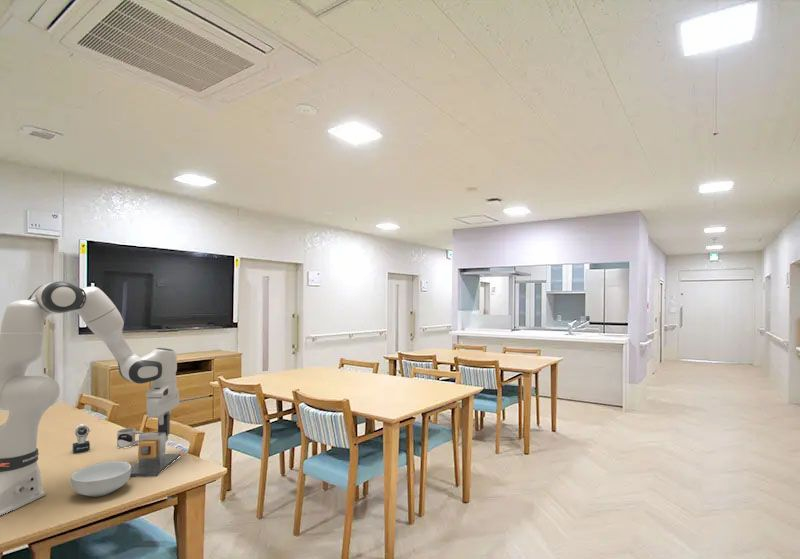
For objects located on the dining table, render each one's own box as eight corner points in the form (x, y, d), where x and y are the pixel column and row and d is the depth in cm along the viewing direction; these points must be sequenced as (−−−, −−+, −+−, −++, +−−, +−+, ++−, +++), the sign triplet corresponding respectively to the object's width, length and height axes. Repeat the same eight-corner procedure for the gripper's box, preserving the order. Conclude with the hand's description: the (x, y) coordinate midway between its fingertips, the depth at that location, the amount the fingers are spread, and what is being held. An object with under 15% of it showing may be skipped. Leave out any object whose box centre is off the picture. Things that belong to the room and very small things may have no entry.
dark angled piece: (149, 454, 167) (149, 425, 167) (139, 454, 167) (139, 425, 167) (169, 440, 183) (169, 414, 183) (160, 440, 183) (160, 414, 183)
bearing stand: (156, 476, 164) (156, 441, 164) (122, 477, 163) (122, 441, 164) (180, 456, 184) (181, 425, 184) (150, 457, 183) (151, 425, 184)
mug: (115, 449, 193) (115, 433, 193) (119, 444, 199) (119, 429, 200) (141, 446, 196) (141, 431, 196) (145, 442, 202) (145, 427, 203)
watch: (74, 454, 186) (74, 427, 187) (72, 449, 192) (72, 423, 193) (90, 451, 190) (91, 425, 190) (88, 446, 196) (88, 421, 196)
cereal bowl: (56, 501, 144) (57, 478, 145) (98, 480, 161) (98, 460, 161) (105, 504, 142) (105, 481, 142) (142, 482, 159) (142, 462, 159)
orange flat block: (153, 458, 168) (154, 442, 169) (138, 458, 168) (138, 442, 168) (156, 456, 170) (156, 441, 171) (141, 456, 170) (141, 441, 170)
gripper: (168, 383, 193) (168, 416, 192) (143, 393, 172) (142, 430, 172) (183, 383, 193) (183, 416, 193) (160, 393, 173) (159, 430, 172)
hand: (163, 423), depth 182 cm, fingers closed on dark angled piece, 2 cm apart
